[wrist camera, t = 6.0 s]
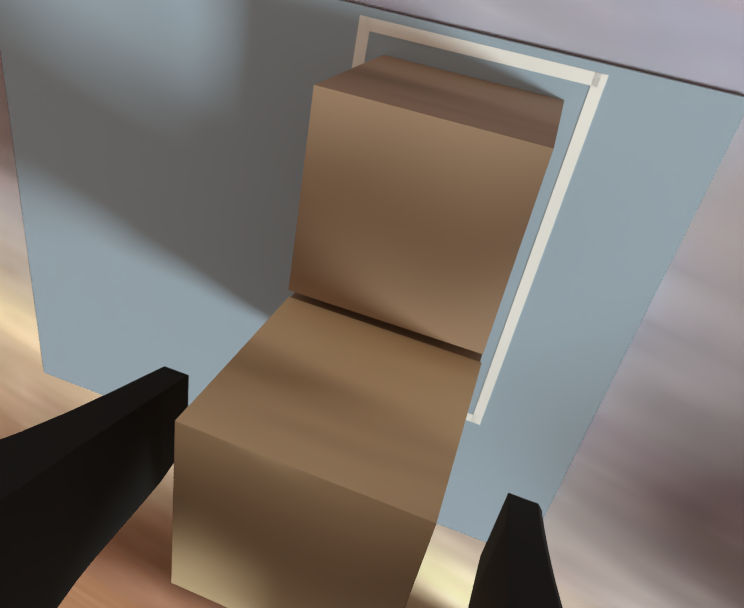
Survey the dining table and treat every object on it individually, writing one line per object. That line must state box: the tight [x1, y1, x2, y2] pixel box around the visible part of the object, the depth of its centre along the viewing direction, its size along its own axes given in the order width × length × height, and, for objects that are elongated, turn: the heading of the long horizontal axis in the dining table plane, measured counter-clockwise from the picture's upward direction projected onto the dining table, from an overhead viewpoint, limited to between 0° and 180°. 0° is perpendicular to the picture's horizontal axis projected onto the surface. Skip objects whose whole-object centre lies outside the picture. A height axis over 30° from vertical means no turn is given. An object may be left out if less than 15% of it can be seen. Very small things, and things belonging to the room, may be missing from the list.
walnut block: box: [288, 55, 564, 354], centre depth 14 cm, size 4×4×4 cm
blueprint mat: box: [0, 0, 744, 542], centre depth 19 cm, size 16×20×1 cm
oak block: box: [171, 297, 482, 608], centre depth 13 cm, size 4×4×4 cm
